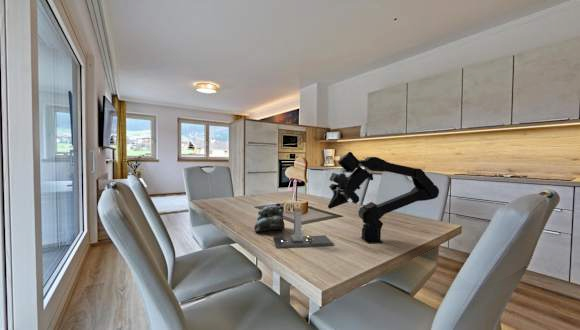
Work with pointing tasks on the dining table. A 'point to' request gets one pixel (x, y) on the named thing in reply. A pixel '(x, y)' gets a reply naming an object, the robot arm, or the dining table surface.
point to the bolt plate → (308, 241)
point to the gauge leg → (297, 225)
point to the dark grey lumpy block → (270, 218)
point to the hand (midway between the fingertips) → (328, 207)
